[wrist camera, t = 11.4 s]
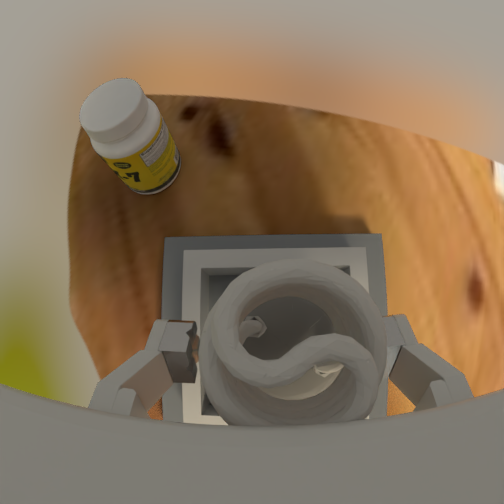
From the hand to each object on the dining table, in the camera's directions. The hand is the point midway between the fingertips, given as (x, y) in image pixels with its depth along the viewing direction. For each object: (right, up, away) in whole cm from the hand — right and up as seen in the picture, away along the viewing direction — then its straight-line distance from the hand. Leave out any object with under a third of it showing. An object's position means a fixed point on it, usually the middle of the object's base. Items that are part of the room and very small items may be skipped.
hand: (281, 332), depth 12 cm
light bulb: (+1, -2, +7) cm, 7 cm away
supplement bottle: (-9, +9, +12) cm, 17 cm away
